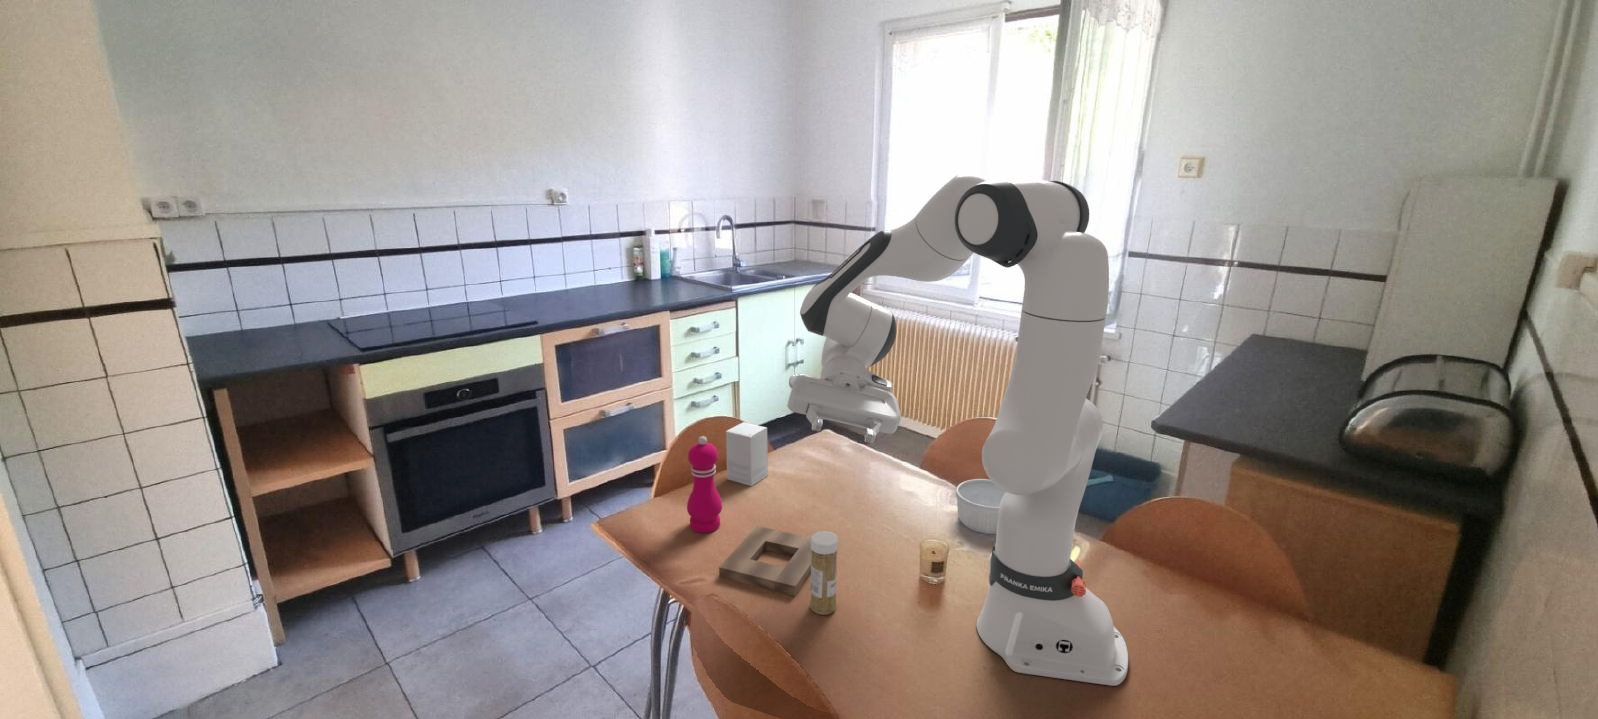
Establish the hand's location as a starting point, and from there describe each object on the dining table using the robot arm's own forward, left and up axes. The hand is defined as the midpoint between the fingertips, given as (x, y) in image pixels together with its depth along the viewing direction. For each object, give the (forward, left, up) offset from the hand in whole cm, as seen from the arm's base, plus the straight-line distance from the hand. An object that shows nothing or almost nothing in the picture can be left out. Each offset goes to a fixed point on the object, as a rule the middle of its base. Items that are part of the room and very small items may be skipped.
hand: (843, 433), depth 114 cm
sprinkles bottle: (0, +9, -29) cm, 30 cm away
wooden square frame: (+13, 0, -28) cm, 31 cm away
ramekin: (-22, -32, -29) cm, 49 cm away
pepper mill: (+32, -7, -29) cm, 44 cm away
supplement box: (+34, -31, -29) cm, 54 cm away
